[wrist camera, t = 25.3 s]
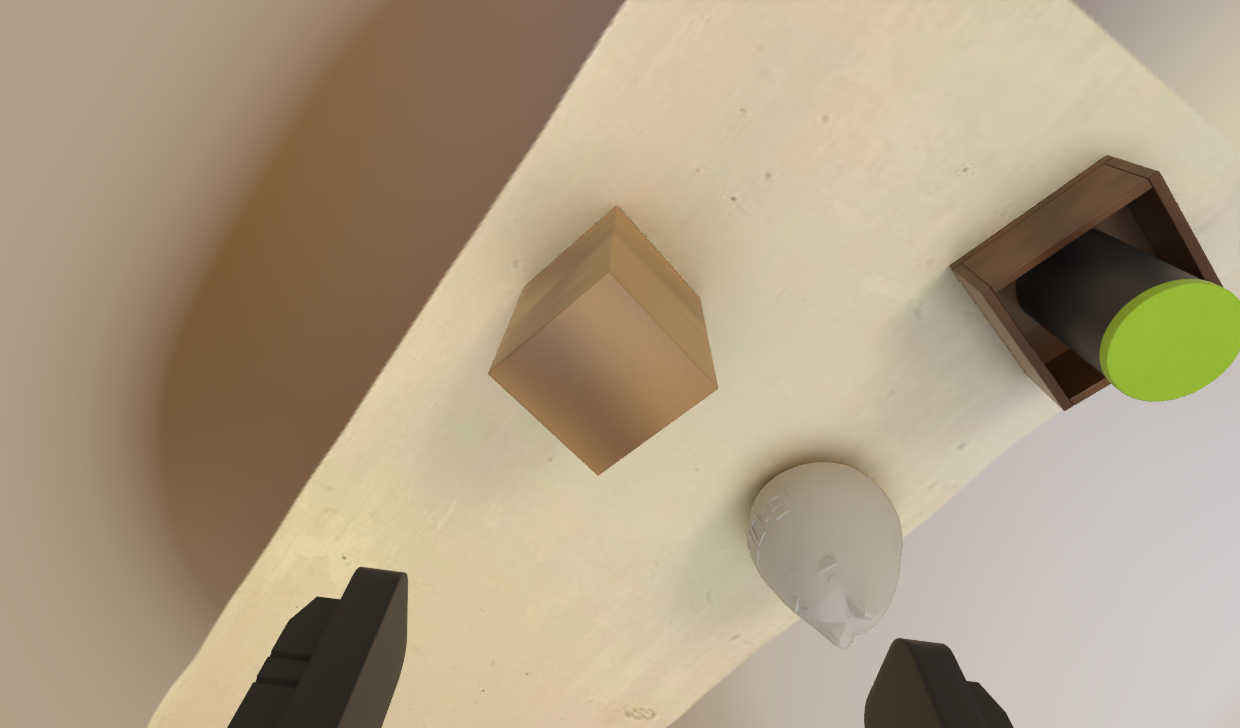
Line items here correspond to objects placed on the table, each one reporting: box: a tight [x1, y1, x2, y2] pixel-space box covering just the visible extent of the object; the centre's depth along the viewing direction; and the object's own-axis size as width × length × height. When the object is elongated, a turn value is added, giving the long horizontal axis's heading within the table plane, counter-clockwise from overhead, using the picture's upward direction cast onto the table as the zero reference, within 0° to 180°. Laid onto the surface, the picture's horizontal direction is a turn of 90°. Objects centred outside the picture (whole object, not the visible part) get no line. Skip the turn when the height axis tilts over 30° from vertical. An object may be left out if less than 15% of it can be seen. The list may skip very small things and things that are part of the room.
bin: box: [950, 155, 1223, 411], centre depth 42 cm, size 10×10×5 cm
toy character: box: [747, 462, 903, 650], centre depth 47 cm, size 10×10×12 cm
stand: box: [488, 206, 718, 475], centre depth 40 cm, size 8×8×12 cm
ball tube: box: [1016, 229, 1240, 401], centre depth 39 cm, size 6×6×10 cm
